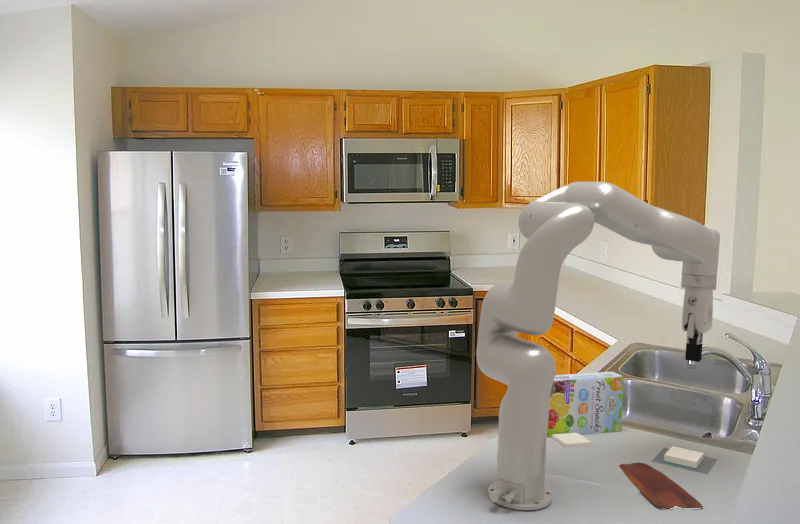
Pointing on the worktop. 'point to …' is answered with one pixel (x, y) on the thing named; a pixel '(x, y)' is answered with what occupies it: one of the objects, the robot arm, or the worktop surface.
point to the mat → (703, 467)
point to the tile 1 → (571, 440)
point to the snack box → (585, 403)
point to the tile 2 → (683, 457)
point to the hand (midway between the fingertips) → (693, 360)
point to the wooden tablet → (658, 487)
